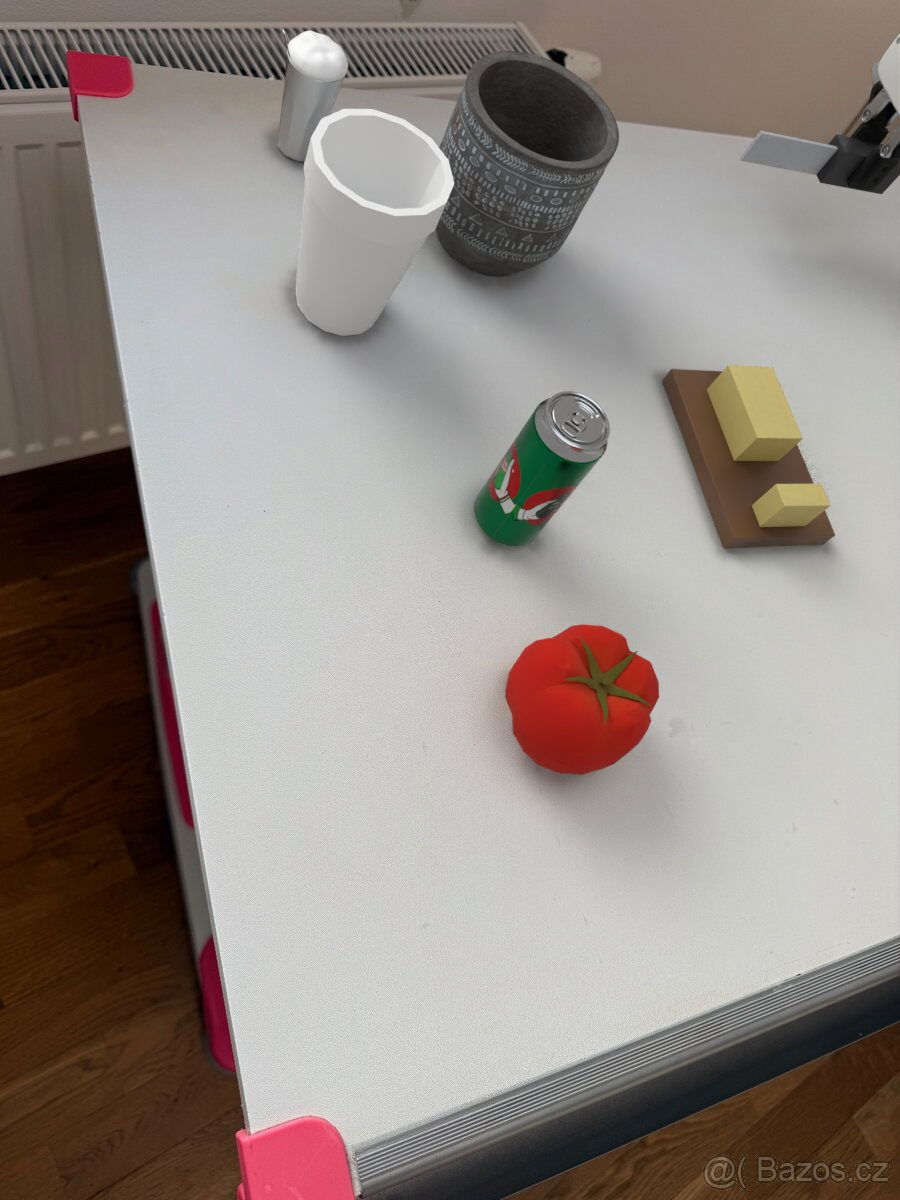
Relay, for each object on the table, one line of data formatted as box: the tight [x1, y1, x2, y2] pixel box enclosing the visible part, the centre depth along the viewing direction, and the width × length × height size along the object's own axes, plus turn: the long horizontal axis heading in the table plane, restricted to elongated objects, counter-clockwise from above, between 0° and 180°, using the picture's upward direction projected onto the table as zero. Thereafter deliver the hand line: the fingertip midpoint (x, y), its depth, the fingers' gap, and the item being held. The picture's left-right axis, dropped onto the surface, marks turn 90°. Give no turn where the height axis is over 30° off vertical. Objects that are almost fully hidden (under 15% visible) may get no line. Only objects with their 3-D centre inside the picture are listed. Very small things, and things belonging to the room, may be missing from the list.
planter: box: [435, 50, 620, 278], centre depth 76 cm, size 12×12×13 cm
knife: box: [739, 130, 900, 195], centre depth 90 cm, size 17×2×4 cm, turn 103°
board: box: [661, 368, 836, 549], centre depth 79 cm, size 10×16×2 cm, turn 13°
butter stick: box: [707, 364, 804, 461], centre depth 78 cm, size 4×7×3 cm, turn 13°
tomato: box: [504, 623, 660, 776], centre depth 60 cm, size 9×9×8 cm
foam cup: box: [295, 108, 454, 337], centre depth 67 cm, size 10×9×13 cm
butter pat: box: [752, 483, 832, 527], centre depth 75 cm, size 4×2×3 cm, turn 103°
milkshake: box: [277, 29, 349, 162], centre depth 74 cm, size 5×5×10 cm
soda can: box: [473, 390, 611, 547], centre depth 64 cm, size 5×5×12 cm
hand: (853, 173), depth 92 cm, fingers closed on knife, 2 cm apart
